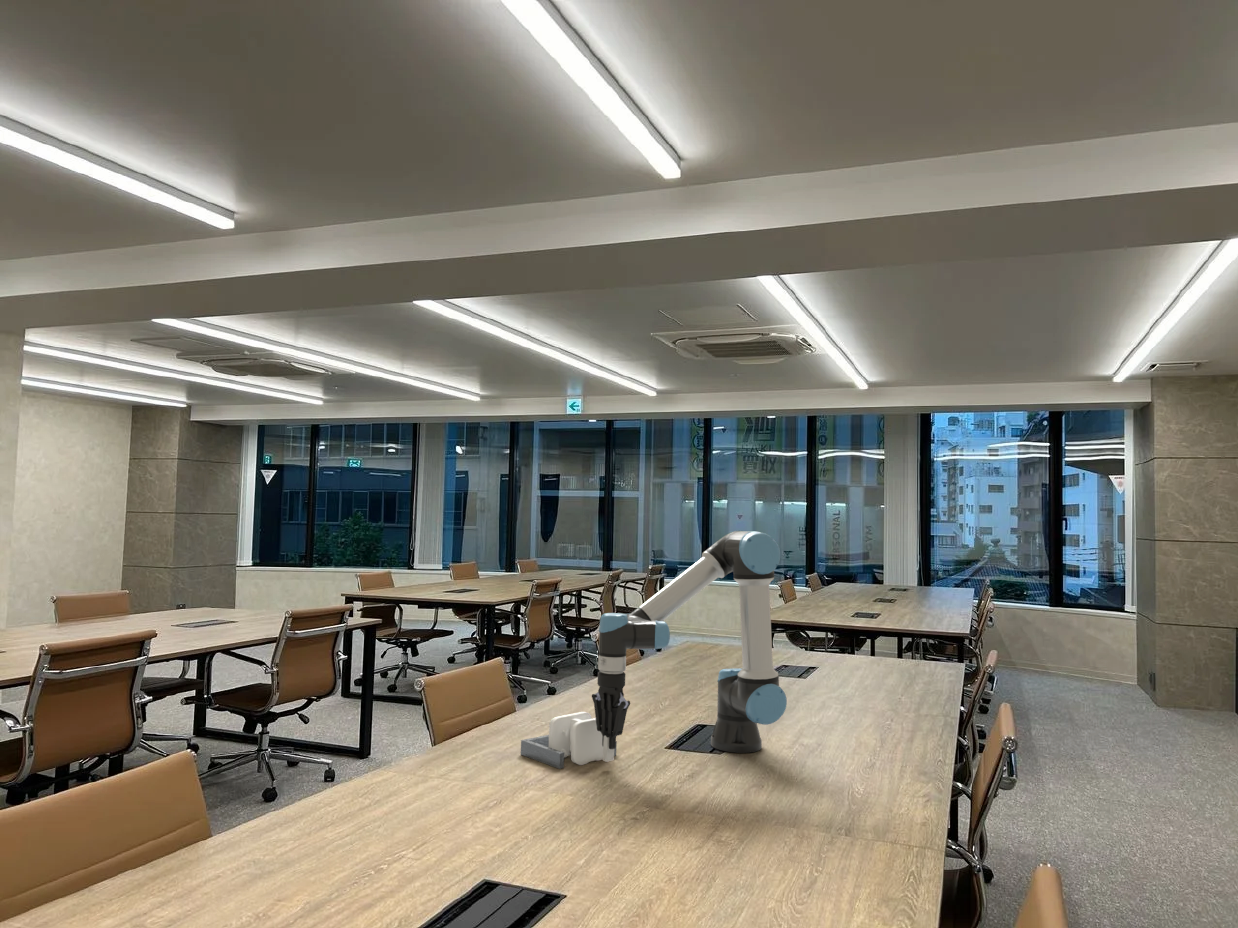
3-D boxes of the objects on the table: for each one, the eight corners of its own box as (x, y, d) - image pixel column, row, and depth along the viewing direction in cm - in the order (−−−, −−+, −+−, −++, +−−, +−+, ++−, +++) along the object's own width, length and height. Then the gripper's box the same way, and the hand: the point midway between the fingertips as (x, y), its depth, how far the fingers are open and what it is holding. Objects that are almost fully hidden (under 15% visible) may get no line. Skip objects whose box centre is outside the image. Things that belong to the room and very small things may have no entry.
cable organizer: (572, 768, 225) (573, 724, 225) (546, 759, 232) (547, 716, 233) (611, 758, 235) (612, 715, 236) (585, 750, 243) (586, 709, 243)
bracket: (616, 755, 238) (616, 740, 238) (559, 768, 223) (559, 753, 224) (576, 742, 250) (577, 728, 250) (520, 754, 236) (521, 739, 236)
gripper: (585, 668, 229) (581, 756, 227) (618, 676, 219) (614, 768, 218) (605, 666, 234) (602, 752, 232) (638, 673, 224) (635, 763, 223)
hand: (608, 760), depth 225 cm, fingers closed
